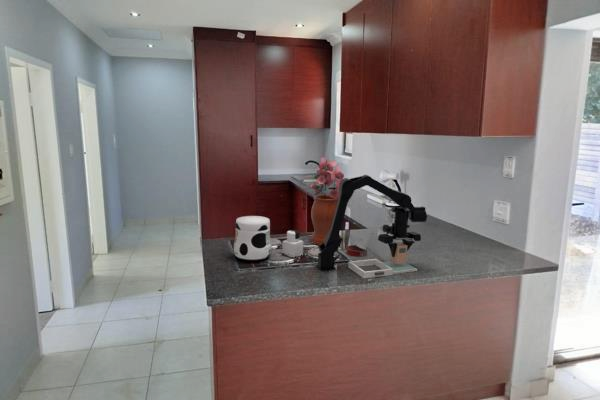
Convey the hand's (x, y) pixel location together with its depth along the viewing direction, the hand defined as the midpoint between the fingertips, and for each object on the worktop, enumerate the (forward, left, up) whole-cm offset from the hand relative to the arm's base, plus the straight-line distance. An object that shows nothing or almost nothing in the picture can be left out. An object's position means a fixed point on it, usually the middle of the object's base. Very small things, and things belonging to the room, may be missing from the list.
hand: (398, 256), depth 179 cm
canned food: (-8, +23, -6) cm, 25 cm away
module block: (0, 0, -2) cm, 2 cm away
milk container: (-58, +31, -6) cm, 66 cm away
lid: (0, 0, -5) cm, 5 cm away
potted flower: (-14, +46, -6) cm, 48 cm away
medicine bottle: (-39, +29, -6) cm, 49 cm away
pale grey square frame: (-14, 0, -5) cm, 15 cm away
